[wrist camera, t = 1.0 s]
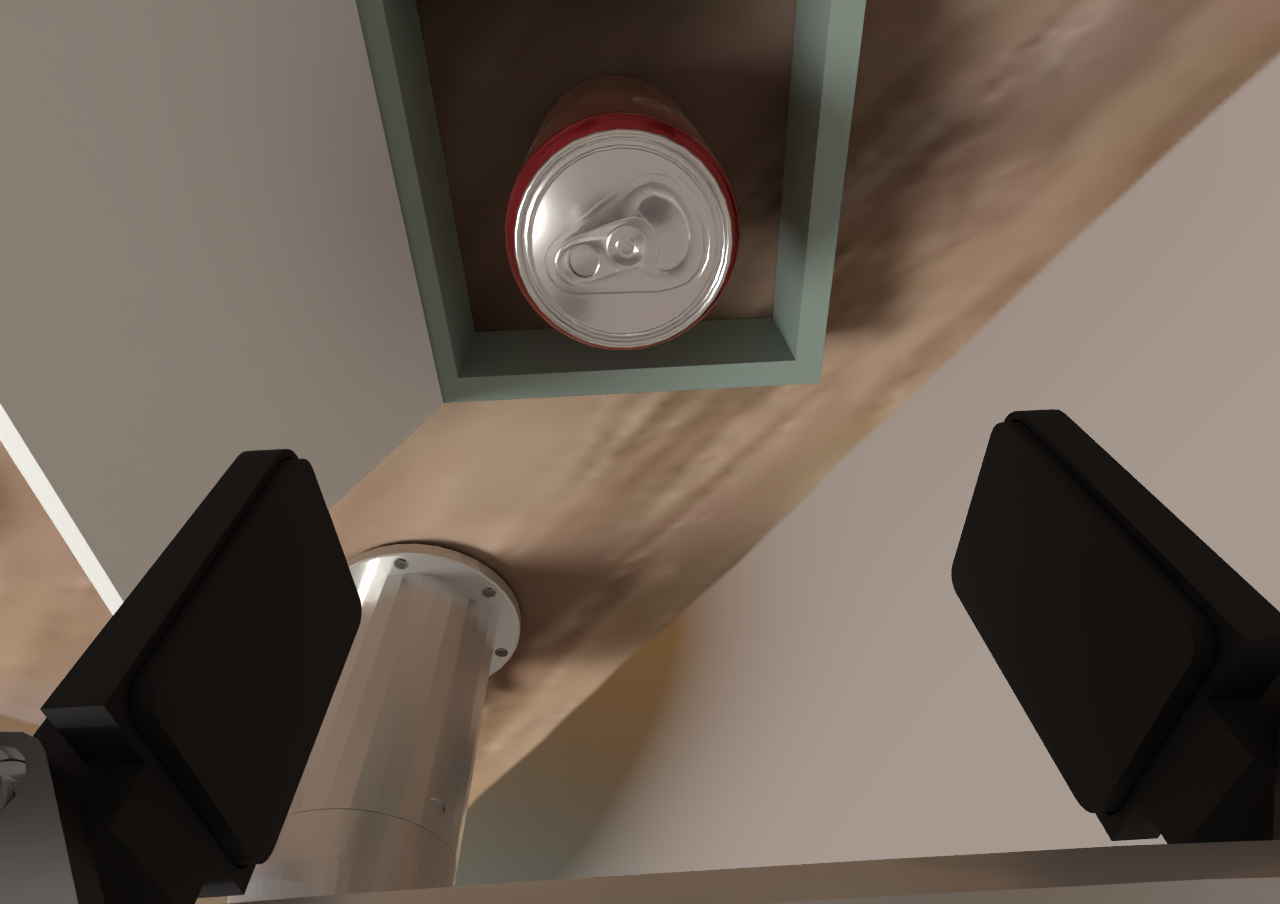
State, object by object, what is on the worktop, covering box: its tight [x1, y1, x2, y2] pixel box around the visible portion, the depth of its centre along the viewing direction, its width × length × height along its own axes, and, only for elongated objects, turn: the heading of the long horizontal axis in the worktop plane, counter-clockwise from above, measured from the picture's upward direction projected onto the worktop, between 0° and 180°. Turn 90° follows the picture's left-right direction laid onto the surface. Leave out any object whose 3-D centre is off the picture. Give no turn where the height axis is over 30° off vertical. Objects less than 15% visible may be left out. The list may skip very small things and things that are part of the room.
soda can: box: [504, 75, 741, 351], centre depth 26 cm, size 7×7×12 cm
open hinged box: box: [0, 0, 866, 615], centre depth 23 cm, size 17×23×19 cm
